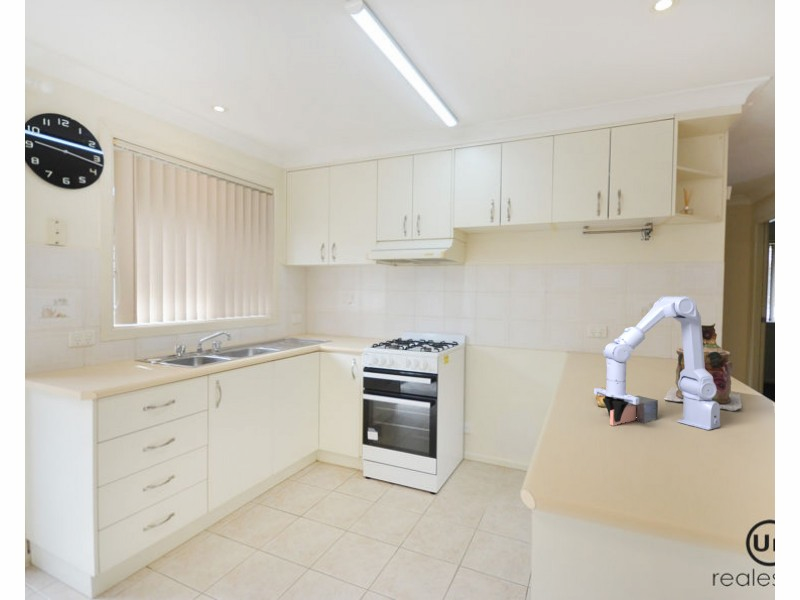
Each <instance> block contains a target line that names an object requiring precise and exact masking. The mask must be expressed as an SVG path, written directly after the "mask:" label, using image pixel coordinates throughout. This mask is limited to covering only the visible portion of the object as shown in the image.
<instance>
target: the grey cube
mask: <svg viewBox="0 0 800 600" xmlns="http://www.w3.org/2000/svg"><path fill="white" fill-rule="evenodd" d="M633 396H634V397H638V398H639V404H636V405H635V404H633V403H630V402H629V403H628V405H627V406H626V407H628V406H633V405H635V406H637V409H636V417H637V418H636V422H638V421H640V422H639V423H642V422H643V423H642V424H646V423H649V422H648V421H650V422H653V421H652V420H654V421H657V420H658V407H659V404H658V403H659V400H658V399H654V398H649V397H647V396H642V395H633ZM656 419H657V420H656ZM645 422H646V423H645Z"/></svg>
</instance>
